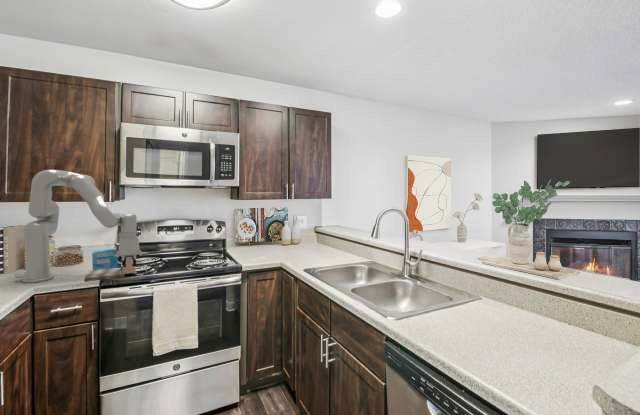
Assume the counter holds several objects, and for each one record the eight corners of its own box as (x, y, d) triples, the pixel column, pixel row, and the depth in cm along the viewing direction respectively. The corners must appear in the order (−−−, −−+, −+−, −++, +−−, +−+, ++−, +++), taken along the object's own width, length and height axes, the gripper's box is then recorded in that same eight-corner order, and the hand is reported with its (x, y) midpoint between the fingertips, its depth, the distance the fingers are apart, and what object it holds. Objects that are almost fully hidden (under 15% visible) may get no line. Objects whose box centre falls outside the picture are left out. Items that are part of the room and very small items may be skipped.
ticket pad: (84, 281, 164) (84, 274, 163) (86, 276, 172) (86, 270, 172) (124, 277, 173) (124, 270, 173) (124, 273, 182) (124, 266, 181)
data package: (95, 272, 182) (94, 252, 181) (92, 271, 185) (92, 251, 184) (118, 268, 192) (117, 249, 191) (115, 267, 194) (114, 248, 194)
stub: (122, 273, 173) (122, 260, 173) (123, 270, 181) (123, 257, 180) (135, 272, 176) (135, 259, 176) (135, 269, 184) (135, 256, 184)
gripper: (111, 236, 170) (111, 269, 171) (146, 235, 179) (146, 266, 180) (111, 235, 176) (112, 266, 177) (145, 233, 185) (145, 263, 186)
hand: (129, 266), depth 178 cm, fingers open, 4 cm apart
